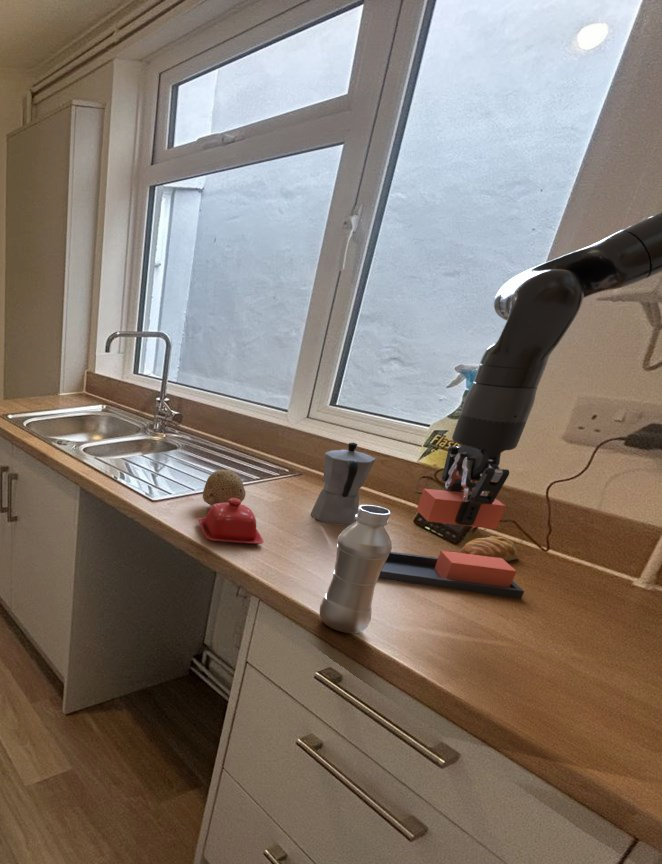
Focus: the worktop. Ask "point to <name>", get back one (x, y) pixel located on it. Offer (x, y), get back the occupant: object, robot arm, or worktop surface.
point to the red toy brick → (456, 509)
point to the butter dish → (231, 523)
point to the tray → (437, 576)
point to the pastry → (491, 548)
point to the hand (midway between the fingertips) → (455, 516)
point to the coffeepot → (342, 485)
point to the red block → (474, 569)
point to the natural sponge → (223, 487)
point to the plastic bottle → (357, 571)
